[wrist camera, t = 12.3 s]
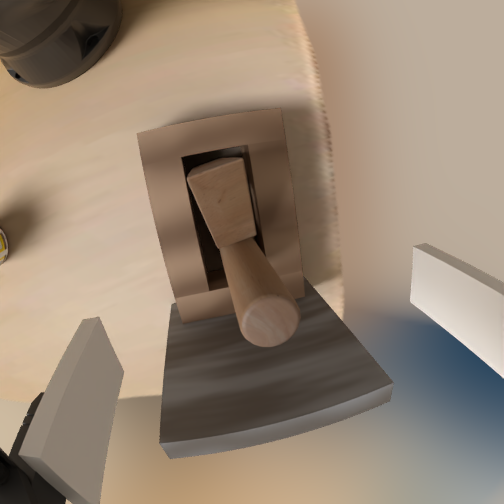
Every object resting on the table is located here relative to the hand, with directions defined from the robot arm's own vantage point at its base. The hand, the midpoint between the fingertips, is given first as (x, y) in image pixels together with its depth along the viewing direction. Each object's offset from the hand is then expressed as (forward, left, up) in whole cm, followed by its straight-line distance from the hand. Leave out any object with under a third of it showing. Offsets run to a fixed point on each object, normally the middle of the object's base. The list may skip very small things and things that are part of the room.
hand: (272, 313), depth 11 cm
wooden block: (0, 0, -23) cm, 23 cm away
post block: (0, 0, -22) cm, 22 cm away
